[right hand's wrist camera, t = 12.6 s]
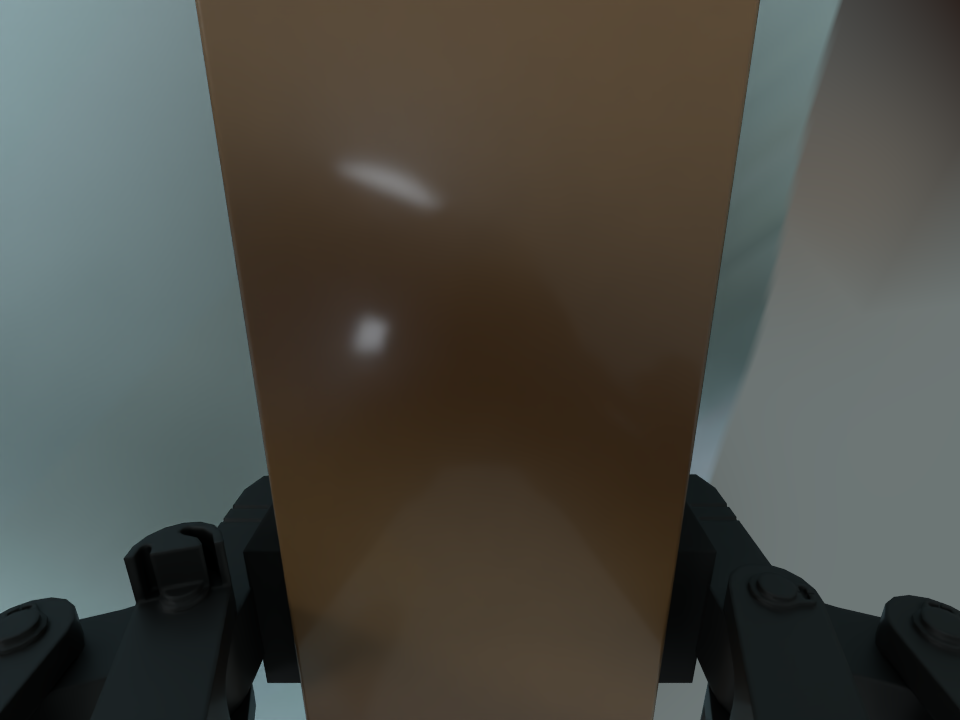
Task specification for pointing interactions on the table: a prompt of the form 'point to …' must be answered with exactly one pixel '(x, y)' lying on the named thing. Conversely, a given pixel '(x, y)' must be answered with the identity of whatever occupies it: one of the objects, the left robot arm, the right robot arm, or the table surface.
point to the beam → (478, 331)
